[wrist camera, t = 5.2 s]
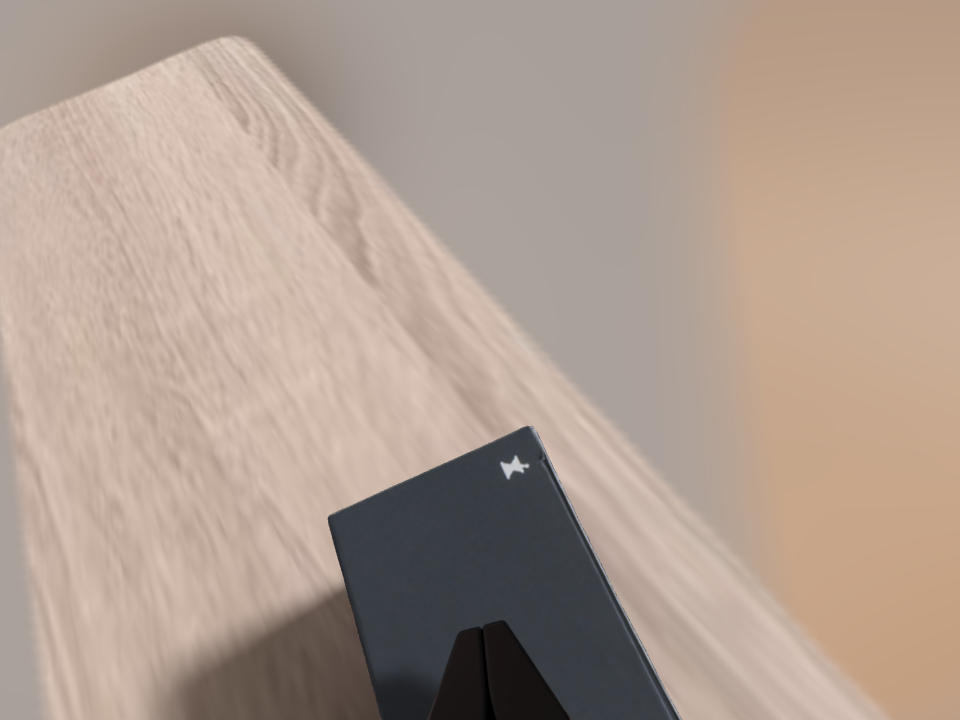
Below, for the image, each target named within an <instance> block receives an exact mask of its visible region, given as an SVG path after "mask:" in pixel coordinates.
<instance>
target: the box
mask: <svg viewBox="0 0 960 720" xmlns="http://www.w3.org/2000/svg"><path fill="white" fill-rule="evenodd" d="M328 524H329V527H330V531H331V535H332V539H333V543H334V546H335V550H336V553H337V557H338V561H339V564H340V567H341V571H342V574H343V578H344V582H345V586H346V589H347V593H348V597H349V601H350V604H351V608H352V611H353V614H354V618H355V622H356V626H357V630H358V634H359V637H360V641H361V645H362V648H363V652H364V655H365V659H366V663H367V666H368V670H369V674H370V678H371V681H372V685H373V689H374V692H375V696H376V700H377V704H378V707H379V711H380V715H381V719H382V720H428V717H429V714H430V711H431V708H432V705H433V703H434V700H435V697H436V694H437V691H438V688H439V685H440V682H441V679H442V677H443V674H444V671H445V668H446V665H447V662H448V659H449V656H450V653H451V651H452V648H453V645H454V642H455V639H456V636H457V634H458V633H459V632H460V631H462V630H466V629H469V628H473V627H477V626H478V627H481V628H483V626H484V625H485V624H488V623H492V622H495V621H499V620H504V621H506V622H507V624H508V625H509V627H510V628H511V630H512V631H513V633H514V634H515V636H516V637H517V639H518V640H519V642H520V643H521V645H522V646H523V648H524V649H525V651H526V652H527V654H528V655H529V657H530V658H531V660H532V661H533V663H534V664H535V666H536V667H537V668H538V670H539V671H540V673H541V674H542V676H543V677H544V679H545V680H546V682H547V683H548V685H549V686H550V688H551V689H552V691H553V692H554V694H555V695H556V697H557V698H558V700H559V701H560V703H561V704H562V706H563V707H564V709H565V710H566V712H567V713H568V715H569V716H570V718H571V719H572V720H682V719H681V717H680V715H679V713H678V712H677V710H676V708H675V706H674V704H673V702H672V701H671V699H670V697H669V695H668V693H667V692H666V690H665V688H664V686H663V684H662V682H661V680H660V678H659V676H658V674H657V672H656V670H655V668H654V666H653V664H652V662H651V660H650V658H649V656H648V654H647V652H646V650H645V648H644V646H643V644H642V643H641V641H640V639H639V637H638V635H637V633H636V631H635V630H634V628H633V626H632V624H631V622H630V620H629V618H628V616H627V614H626V612H625V611H624V609H623V607H622V605H621V603H620V601H619V599H618V597H617V595H616V593H615V591H614V589H613V587H612V585H611V583H610V581H609V579H608V577H607V575H606V573H605V571H604V568H603V566H602V564H601V562H600V560H599V558H598V557H597V555H596V553H595V551H594V549H593V547H592V545H591V543H590V540H589V538H588V536H587V534H586V533H585V531H584V529H583V527H582V525H581V523H580V521H579V519H578V517H577V515H576V513H575V510H574V508H573V506H572V504H571V502H570V500H569V498H568V496H567V494H566V492H565V490H564V488H563V486H562V484H561V482H560V480H559V478H558V476H557V474H556V472H555V470H554V468H553V465H552V463H551V461H550V459H549V457H548V455H547V453H546V450H545V448H544V446H543V443H542V441H541V439H540V437H539V435H538V433H537V432H536V430H535V429H534V427H532V426H525V427H522V428H520V429H518V430H516V431H514V432H512V433H510V434H508V435H506V436H504V437H501V438H499V439H497V440H495V441H493V442H491V443H488V444H486V445H484V446H482V447H480V448H478V449H475V450H473V451H471V452H469V453H466V454H464V455H462V456H460V457H457V458H455V459H453V460H451V461H449V462H446V463H444V464H442V465H440V466H437V467H435V468H433V469H430V470H428V471H426V472H424V473H422V474H420V475H418V476H415V477H413V478H411V479H409V480H406V481H404V482H402V483H399V484H397V485H395V486H392V487H390V488H388V489H386V490H384V491H381V492H379V493H377V494H375V495H373V496H371V497H368V498H366V499H364V500H362V501H360V502H358V503H356V504H353V505H351V506H349V507H346V508H344V509H342V510H339V511H337V512H335V513H333V514H331V515H329V517H328Z"/></svg>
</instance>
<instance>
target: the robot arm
mask: <svg viewBox="0 0 960 720" xmlns="http://www.w3.org/2000/svg"><path fill="white" fill-rule="evenodd" d="M428 720H572V719H571V718H570V716H569V715H568V713H567V712H566V710H565V709H564V707H563V706H562V704H561V703H560V701H559V700H558V698H557V697H556V695H555V694H554V692H553V691H552V689H551V688H550V686H549V685H548V683H547V682H546V680H545V679H544V677H543V676H542V674H541V673H540V671H539V670H538V668H537V667H536V666H535V664H534V663H533V661H532V660H531V658H530V657H529V655H528V654H527V652H526V651H525V649H524V648H523V646H522V645H521V643H520V642H519V640H518V639H517V637H516V636H515V634H514V633H513V631H512V630H511V628H510V627H509V625H508V624H507V622H506V621H504V620H499V621H495V622H492V623H488V624H485V625H484V626H483V628H481V627H478V626H477V627H473V628H469V629H466V630H462V631H460V632H459V633H458V634H457V636H456V639H455V642H454V645H453V648H452V651H451V653H450V656H449V659H448V662H447V665H446V668H445V671H444V674H443V677H442V679H441V682H440V685H439V688H438V691H437V694H436V697H435V700H434V703H433V705H432V708H431V711H430V714H429V717H428Z"/></svg>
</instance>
